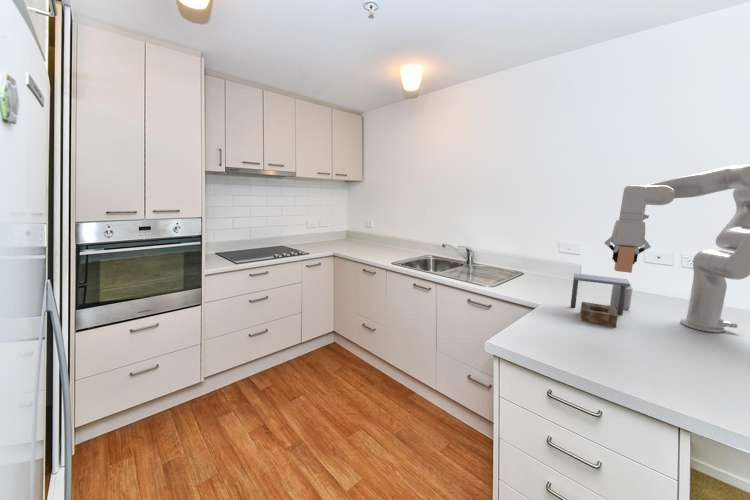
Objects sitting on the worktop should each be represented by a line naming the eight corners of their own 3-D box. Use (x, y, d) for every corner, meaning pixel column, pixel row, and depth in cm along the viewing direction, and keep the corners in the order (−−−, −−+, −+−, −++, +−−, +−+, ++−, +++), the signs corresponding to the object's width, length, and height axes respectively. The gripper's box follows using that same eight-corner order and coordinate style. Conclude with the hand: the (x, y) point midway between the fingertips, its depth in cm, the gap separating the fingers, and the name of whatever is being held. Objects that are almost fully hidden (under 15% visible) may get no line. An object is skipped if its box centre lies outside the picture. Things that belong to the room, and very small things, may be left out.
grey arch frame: (622, 314, 145) (627, 279, 142) (624, 320, 138) (630, 283, 135) (570, 306, 155) (574, 273, 153) (570, 311, 148) (574, 277, 145)
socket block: (612, 317, 141) (614, 306, 141) (616, 327, 130) (617, 315, 130) (580, 312, 148) (581, 301, 147) (580, 321, 137) (582, 310, 136)
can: (629, 311, 148) (633, 286, 146) (609, 308, 153) (612, 283, 151) (629, 307, 154) (632, 283, 152) (610, 304, 159) (613, 280, 157)
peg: (629, 270, 131) (633, 246, 130) (631, 272, 127) (635, 247, 125) (614, 268, 134) (618, 244, 132) (615, 271, 130) (619, 246, 128)
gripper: (657, 218, 126) (648, 264, 129) (604, 215, 134) (597, 258, 137) (661, 219, 119) (653, 267, 123) (606, 216, 128) (599, 261, 131)
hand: (623, 262), depth 130 cm, fingers closed on peg, 4 cm apart
